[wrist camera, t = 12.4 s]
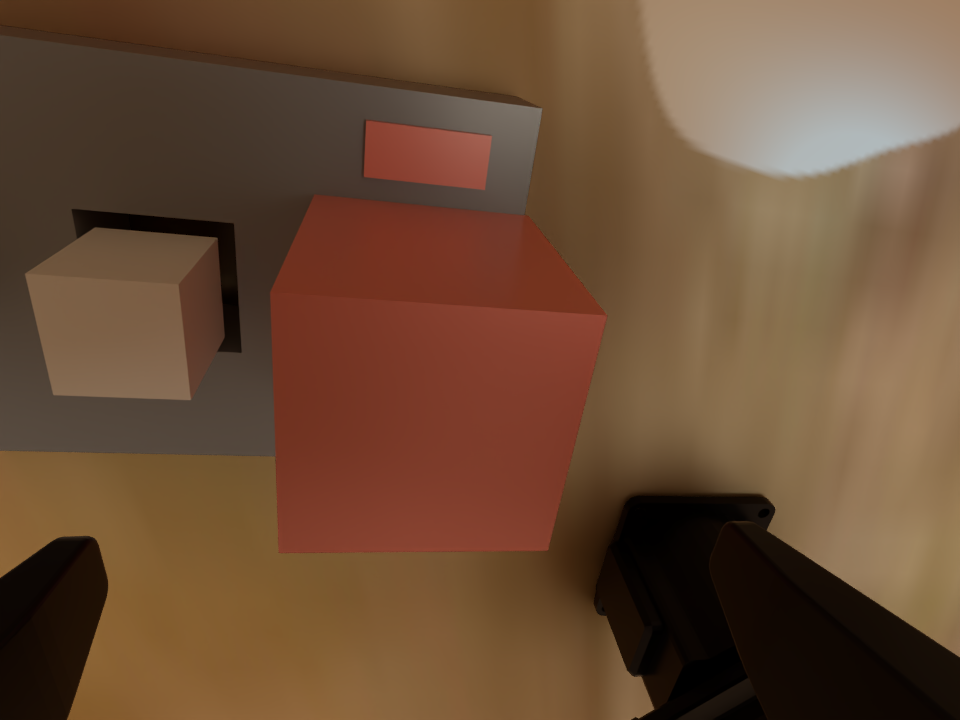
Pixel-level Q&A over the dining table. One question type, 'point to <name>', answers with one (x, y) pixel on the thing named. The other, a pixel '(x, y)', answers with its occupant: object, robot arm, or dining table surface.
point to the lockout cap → (425, 379)
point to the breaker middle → (129, 314)
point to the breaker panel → (211, 202)
